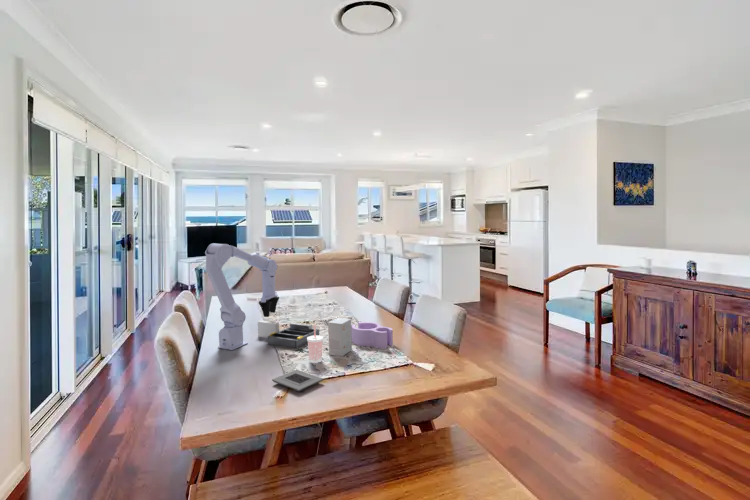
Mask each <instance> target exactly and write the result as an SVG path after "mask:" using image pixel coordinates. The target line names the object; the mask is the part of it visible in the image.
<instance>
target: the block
mask: <svg viewBox="0 0 750 500" xmlns="http://www.w3.org/2000/svg"><path fill="white" fill-rule="evenodd" d="M279 331H280V322H278V321H277V322H276V321H270V320H269V321H268V320H262V319H261V320H258V321H257V336H258V338H266V339H268V337H267V336H270V334H271V333H274V332H276V333H277V332H279Z"/></svg>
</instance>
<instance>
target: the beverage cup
mask: <svg viewBox="0 0 750 500" xmlns="http://www.w3.org/2000/svg"><path fill="white" fill-rule="evenodd" d="M313 329H314V335H313V336H309V337H307V341H308V343H307V345H308V346H307V347H308V358H309V359H308V360H309V363H312V364H317V363H318V362H319V363H321V362H322V359H323V340H324V336H323V335H320V334H319V335H316V330H315V329H316V324H313Z"/></svg>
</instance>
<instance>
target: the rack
mask: <svg viewBox="0 0 750 500" xmlns="http://www.w3.org/2000/svg"><path fill="white" fill-rule="evenodd" d="M289 324H290V325H289V327H286V328H284V329H282V330H279V332H277V333H276V332H274V333H271V334H270V336H267V337H268V338H267V345H268V346H274V347H275V346H276V347H282V348H288V349H289V348H290V349H295V350H298V349H300V348H302V347H303V346H305V345H308V341H307V337H309V336H313V335H314V328H313V325H312V324H311V323H310V324H308V323H303V322H294V321H293V322H291V323H289ZM315 330H316V335H319V336H320V329H318V328H315Z"/></svg>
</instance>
